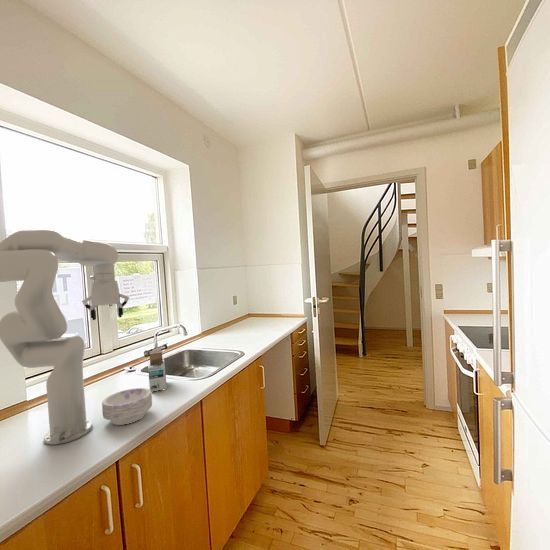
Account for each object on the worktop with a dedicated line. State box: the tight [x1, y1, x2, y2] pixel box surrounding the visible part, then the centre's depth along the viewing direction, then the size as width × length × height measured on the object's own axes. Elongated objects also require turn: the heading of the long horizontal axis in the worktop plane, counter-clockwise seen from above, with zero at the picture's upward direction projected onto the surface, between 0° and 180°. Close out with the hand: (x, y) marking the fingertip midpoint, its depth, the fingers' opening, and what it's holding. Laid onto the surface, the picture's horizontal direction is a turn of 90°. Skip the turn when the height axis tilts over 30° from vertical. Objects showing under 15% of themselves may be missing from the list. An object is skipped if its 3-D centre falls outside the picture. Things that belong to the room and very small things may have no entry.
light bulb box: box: [147, 358, 167, 393], centre depth 127 cm, size 11×7×11 cm, turn 22°
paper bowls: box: [101, 387, 153, 426], centre depth 100 cm, size 15×15×8 cm
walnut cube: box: [149, 349, 163, 366], centre depth 126 cm, size 5×5×5 cm
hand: (107, 318), depth 123 cm, fingers open, 9 cm apart
